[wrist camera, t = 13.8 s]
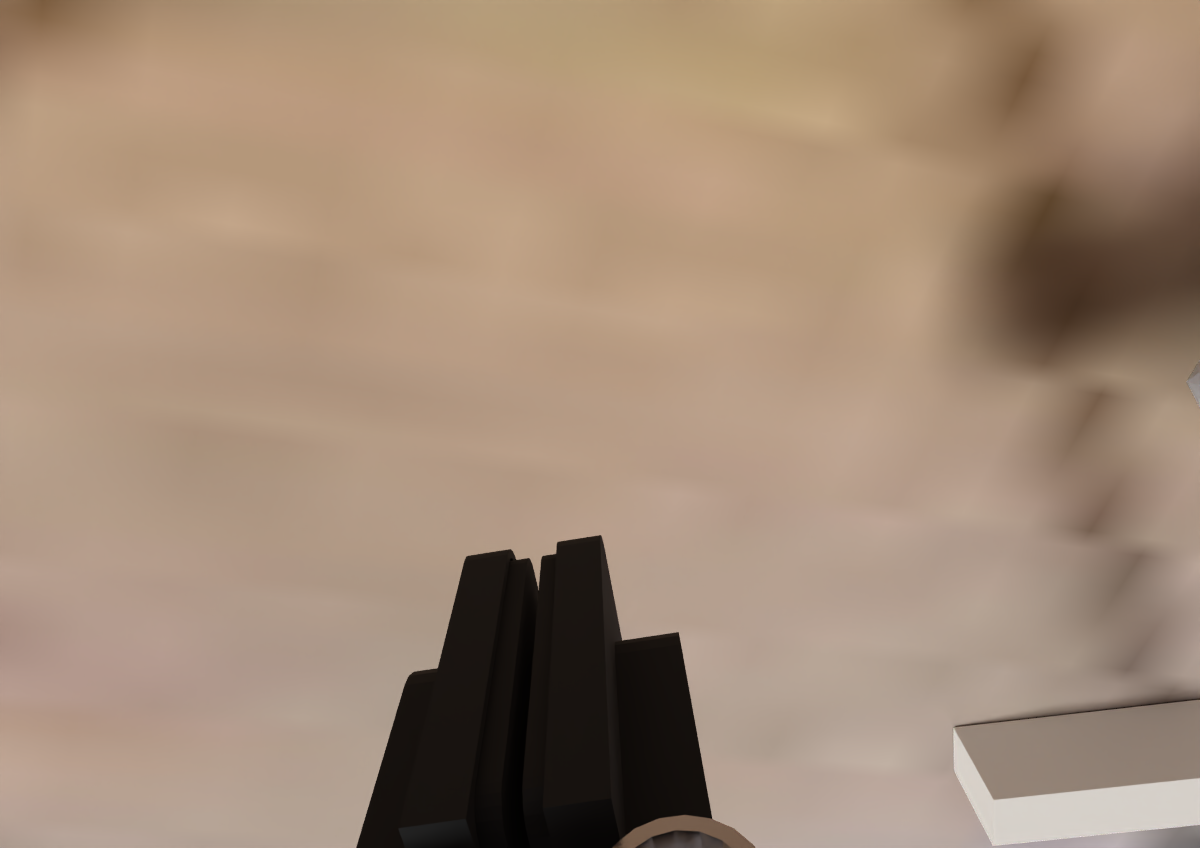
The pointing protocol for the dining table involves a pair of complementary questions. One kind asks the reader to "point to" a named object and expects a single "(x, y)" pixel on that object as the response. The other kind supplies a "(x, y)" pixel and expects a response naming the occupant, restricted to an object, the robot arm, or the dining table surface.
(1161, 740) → the white stand base
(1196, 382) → the die
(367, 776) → the dining table surface
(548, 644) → the robot arm
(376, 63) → the dining table surface
